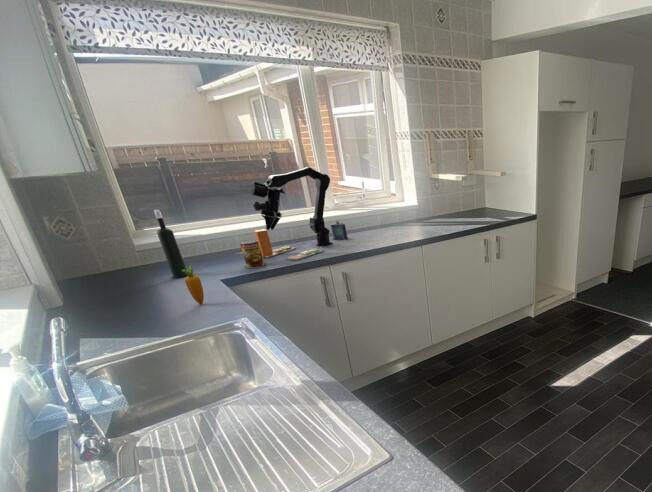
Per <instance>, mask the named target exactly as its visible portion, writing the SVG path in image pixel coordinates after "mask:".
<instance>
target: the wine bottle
mask: <svg viewBox="0 0 652 492" xmlns="http://www.w3.org/2000/svg"><path fill="white" fill-rule="evenodd" d="M153 213H154V215H155V218H156V220H157V223H158V225H159V228H158V229H156V234H157V237H158V241H159V243H160V246H161V248H162V251H163V253H164V256H165V258H166V261H167V264H168V266H169V269H170V272H171V275H172V277H173V279H174V278H175V279H181V278H186V277H188V275H187V274H186V273H185V272H183V271H182V270H184V269H185V270H186V271H188V269H187V268H186V265H185V261H184V258H183V256H182V253H181V250H180V247H179V244H178V242H177V239H176V237H175V234H174V232H173V231H174V230H173V229H172V228H170V227H166V224H165V221H164V219H163V215H162V212H161V210H160V209H153Z"/></svg>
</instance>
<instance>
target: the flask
mask: <svg viewBox="0 0 652 492" xmlns="http://www.w3.org/2000/svg"><path fill="white" fill-rule="evenodd" d="M329 225H330V226H329V227H330V229H331V235H332V239H333V240H348V234H347V229H346V224H345V223H343V222H339V220H336V221H335V223H330V224H329Z"/></svg>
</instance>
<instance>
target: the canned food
mask: <svg viewBox="0 0 652 492" xmlns="http://www.w3.org/2000/svg"><path fill="white" fill-rule="evenodd" d="M239 245H240V249H241V252H242V254H243V259H244V262H245V265H246V268H249V269H254V268H255V269H256V268H260V267H263V266H265V262H264V261H265V260H264V257H262V254H261V250H260V246H259V243H258V240H256V239H247V240H242V241H239Z"/></svg>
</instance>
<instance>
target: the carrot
mask: <svg viewBox="0 0 652 492" xmlns="http://www.w3.org/2000/svg"><path fill="white" fill-rule="evenodd" d="M188 268H189V270H187V269H186V270H187V271H186V270H185V269H184V270H182V271H183V272H185V273H186V274H187V275H188V276H186V277H184V282H185V285H186V287H187V290H188V292H189V294H190V295H191V297H192V298H193V300H194V301H195V302H196V303H198V305H199V306H200V305H201V306H202V305H203V304H204V300H205V299H204V298H205V295H204V289H203V285H202V281H201V278H200V276H199V275H195V274H194V268H193V266H192V265H188Z"/></svg>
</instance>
